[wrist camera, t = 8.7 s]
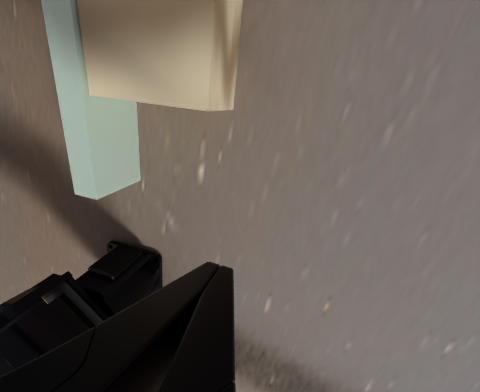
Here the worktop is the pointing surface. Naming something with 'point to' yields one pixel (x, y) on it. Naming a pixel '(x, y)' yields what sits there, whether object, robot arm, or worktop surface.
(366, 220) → the worktop surface
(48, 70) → the worktop surface
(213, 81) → the maple block
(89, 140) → the sage board
